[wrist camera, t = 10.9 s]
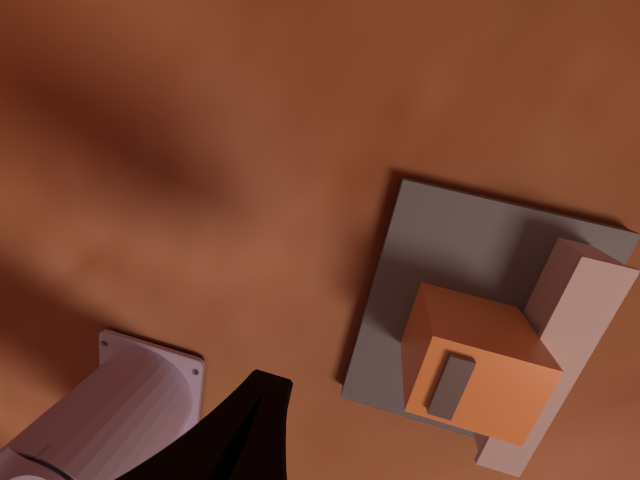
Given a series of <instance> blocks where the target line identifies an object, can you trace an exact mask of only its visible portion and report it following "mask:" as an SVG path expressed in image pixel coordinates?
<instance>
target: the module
mask: <svg viewBox="0 0 640 480" xmlns="http://www.w3.org/2000/svg"><path fill="white" fill-rule="evenodd" d="M400 345H401V361H402V378H403V394H404V410H405V411H406V412H409V413H412V414H416V415H419V416H422V417H425V418H429V419H432V420H435V421H439V422H442V423H445V424H449V425H452V426H455V427H459V428H462V429H465V430H469V431H472V432H475V433H478V434H482V435H485V436H488V437H492V438H495V439H498V440H502V441H505V442H508V443H512V444H515V445H518V446H523V444H524V442H525V441H526V439H527V437H528V435H529V433H530V432H531V430H532V428H533V426H534V425H535V423H536V421H537V419H538V417H539V416H540V414H541V412H542V410H543V409H544V407H545V405H546V403H547V401H548V400H549V398H550V396H551V394H552V393H553V391H554V389H555V387H556V385H557V384H558V382H559V380H560V378H561V377H562V375H563V373H564V371H563V370H562V369H561V367H560V366H559V364H558V363H557V362H556V360H555V359H554V357H553V356H552V355H551V353H550V352H549V350H548V349H547V348H546V346H545V345H544V344H543V342H542V341H541V339H540V338H539V337H538V335H537V334H536V332H535V331H534V330H533V328H532V327H531V325H530V324H529V323H528V321H527V320H526V318H525V317H524V316H523V314H522V313H521V311H520V310H519V309H518V307H515V306H511V305H507V304H503V303H499V302H496V301H492V300H488V299H484V298H480V297H476V296H473V295H469V294H465V293H461V292H457V291H453V290H449V289H446V288H442V287H438V286H434V285H430V284H426V283H422V282H421V284H420V287H419V290H418V293H417V296H416V299H415V302H414V305H413V308H412V311H411V314H410V317H409V319H408V322H407V325H406V328H405V331H404V334H403V337H402V340H401V343H400Z"/></svg>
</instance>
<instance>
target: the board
mask: <svg viewBox="0 0 640 480" xmlns="http://www.w3.org/2000/svg"><path fill="white" fill-rule="evenodd" d="M639 239H640V234H639V233H637V232H634V231H632V230H630V229H627V228H623V227H619V226H614V225H610V224H606V223H601V222H597V221H592V220H588V219H584V218H579V217H575V216H571V215H566V214H562V213H558V212H553V211H549V210H545V209H540V208H536V207H532V206H527V205H523V204H519V203H514V202H510V201H505V200H501V199H497V198H492V197H488V196H484V195H479V194H475V193H471V192H466V191H462V190H458V189H453V188H449V187H445V186H440V185H436V184H432V183H427V182H423V181H419V180H414V179H410V178H405V177H402V180H401V183H400V187H399V190H398V194H397V197H396V201H395V204H394V208H393V211H392V215H391V218H390V222H389V225H388V229H387V232H386V236H385V239H384V243H383V246H382V250H381V253H380V257H379V260H378V264H377V267H376V271H375V274H374V278H373V281H372V285H371V288H370V292H369V295H368V299H367V302H366V306H365V309H364V313H363V316H362V320H361V323H360V327H359V330H358V334H357V337H356V341H355V344H354V348H353V351H352V355H351V358H350V362H349V365H348V369H347V372H346V376H345V379H344V383H343V387H342V393H341V397H343V398H346V399H349V400H352V401H356V402H359V403H362V404H366V405H369V406H372V407H375V408H379V409H382V410H385V411H389V412H392V413H395V414H398V415H402V416H405V417H408V418H412V419H415V420H418V421H421V422H425V423H428V424H431V425H435V426H438V427H441V428H444V429H448V430H451V431H454V432H458V433H461V434H464V435H467V436H471V437H474V438H475V441H476V444H477V448H478V453H477V455H476V457H475V463H476V464H477V465H481V466H484V467H487V468H490V469H493V470H497V471H500V472H503V473H506V474H509V475H513V476H516V477H520V475H521V473H522V472H523V470H524V468H525V467H526V465H527V463H528V462H529V460H530V458H531V456H532V455H533V453H534V451H535V450H536V448H537V446H538V445H539V443H540V441H541V439H542V438H543V436H544V434H545V433H546V431H547V429H548V427H549V426H550V424H551V422H552V421H553V419H554V417H555V416H556V414H557V412H558V410H559V409H560V407H561V405H562V404H563V402H564V400H565V399H566V397H567V395H568V393H569V392H570V390H571V388H572V387H573V385H574V383H575V381H576V380H577V378H578V376H579V375H580V373H581V371H582V370H583V368H584V366H585V364H586V363H587V361H588V359H589V358H590V356H591V354H592V352H593V351H594V349H595V347H596V346H597V344H598V342H599V341H600V339H601V337H602V335H603V334H604V332H605V330H606V329H607V327H608V325H609V324H610V322H611V320H612V318H613V317H614V315H615V313H616V312H617V310H618V308H619V306H620V305H621V303H622V301H623V300H624V298H625V296H626V295H627V293H628V291H629V289H630V288H631V286H632V284H633V283H634V281H635V279H636V278H637V276H638V274H639V272H640V270H638V269H637V268H634V267H630V266H626V265H625V264H626V262H627V261H628V259H629V257H630V255H631V254H632V252H633V250H634V248H635V247H636V245H637V243H638V241H639ZM421 282H422V283H426V284H430V285H434V286H438V287H442V288H446V289H449V290H453V291H457V292H461V293H465V294H469V295H473V296H476V297H480V298H484V299H488V300H492V301H496V302H499V303H503V304H507V305H511V306H515V307H518V309H519V310H520V311H521V313H522V314H523V316H524V317H525V318H526V320H527V321H528V323H529V324H530V325H531V327H532V328H533V330H534V331H535V332H536V334H537V335H538V337H539V338H540V339H541V341H542V342H543V344H544V345H545V346H546V348H547V349H548V350H549V352H550V353H551V355H552V356H553V357H554V359H555V360H556V362H557V363H558V364H559V366H560V367H561V369H562V370H563V371H564V373H563V375H562V377H561V378H560V380H559V382H558V384H557V385H556V387H555V389H554V391H553V393H552V394H551V396H550V398H549V400H548V401H547V403H546V405H545V407H544V409H543V410H542V412H541V414H540V416H539V417H538V419H537V421H536V423H535V425H534V426H533V428H532V430H531V432H530V433H529V435H528V437H527V439H526V441H525V442H524V444H523V446H518V445H515V444H512V443H508V442H505V441H502V440H498V439H495V438H492V437H488V436H485V435H482V434H478V433H475V432H472V431H469V430H465V429H462V428H459V427H455V426H452V425H449V424H445V423H442V422H439V421H435V420H432V419H429V418H425V417H422V416H419V415H416V414H412V413H409V412H406V411H405V410H404V394H403V378H402V361H401V345H400V343H401V340H402V337H403V334H404V331H405V328H406V325H407V322H408V319H409V317H410V314H411V311H412V308H413V305H414V302H415V299H416V296H417V293H418V290H419V287H420V284H421Z"/></svg>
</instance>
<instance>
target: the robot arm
mask: <svg viewBox="0 0 640 480" xmlns="http://www.w3.org/2000/svg"><path fill="white" fill-rule="evenodd" d="M195 369H196V370H195ZM204 369H205V362H204V361H203V360H202V359H201V358H199V357H196V356H193V355H190V354H187V353H183V352H180V351H177V350H173V349H170V348H167V347H164V346H160V345H157V344H154V343H151V342H147V341H144V340H141V339H137V338H134V337H131V336H128V335H124V334H121V333H118V332H115V331H111V330H108V329H104V330H103V331H101V332H100V333H99V367H98V368H97V369H96V370H95V371H94V372H92V373H91V374H90V375H89V376H88V377H86V378H85V379H84V380H83V381H82V382H80V383H79V384H78V385H77V386H76V387H75V388H73V389H72V390H71V391H70V392H69V393H67V394H66V395H65V396H64V397H63V398H61V399H60V400H59V401H58V402H57V403H55V404H54V405H53V406H52V407H51V408H49V409H48V410H47V411H46V412H45V413H44V414H42V415H41V416H40V417H39V418H38V419H36V420H35V421H34V422H33V423H32V424H30V425H29V426H28V427H27V428H26V429H24V430H23V431H22V432H21V433H20V434H19V435H17V436H16V437H15V438H14V439H13V440H11V441H10V442H9V443H8V444H7V445H5V446H4V447H3V448H2V449H1V450H0V480H287V473H286V418H287V409H288V404H289V400H290V395H291V391H292V386H293V383H292V381H291V380H290V379H287V378H283V377H280V376H277V375H273V374H270V373H267V372H264V371H260V370H257V369H256V370H254V371H253V372H252V373H251V374H250V375H249V376H248V377H247V378H246V379H245V380H244V381H243V383H242V384H241V385H240V386H239V387H238V388H237V389H236V390H235V391H233V392H232V393H231V394H230V395H229V396H228V397H227V398H226V399H225V400H224V401H223V402H222V403H221V404H219V405H218V406H217V407H216V408H215V409H214V410H213V411H212V412H210V413H209V414H208V415H207V416H206V417H204V418H203V419H202V420H201V421H199V418H200V408H201V398H202V388H203V379H204ZM197 370H198V371H197Z"/></svg>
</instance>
